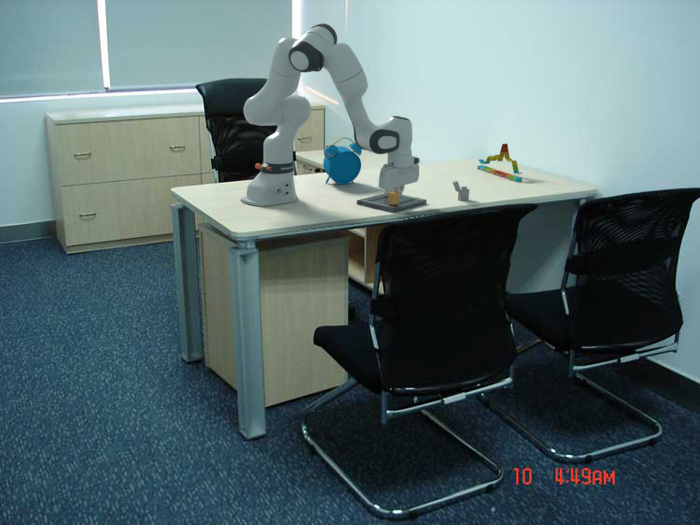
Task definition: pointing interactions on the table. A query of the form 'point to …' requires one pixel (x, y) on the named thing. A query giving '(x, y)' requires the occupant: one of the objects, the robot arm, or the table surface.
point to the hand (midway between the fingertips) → (398, 197)
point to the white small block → (388, 191)
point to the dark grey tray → (382, 204)
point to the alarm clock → (342, 162)
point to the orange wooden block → (393, 198)
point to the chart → (503, 153)
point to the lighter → (461, 191)
